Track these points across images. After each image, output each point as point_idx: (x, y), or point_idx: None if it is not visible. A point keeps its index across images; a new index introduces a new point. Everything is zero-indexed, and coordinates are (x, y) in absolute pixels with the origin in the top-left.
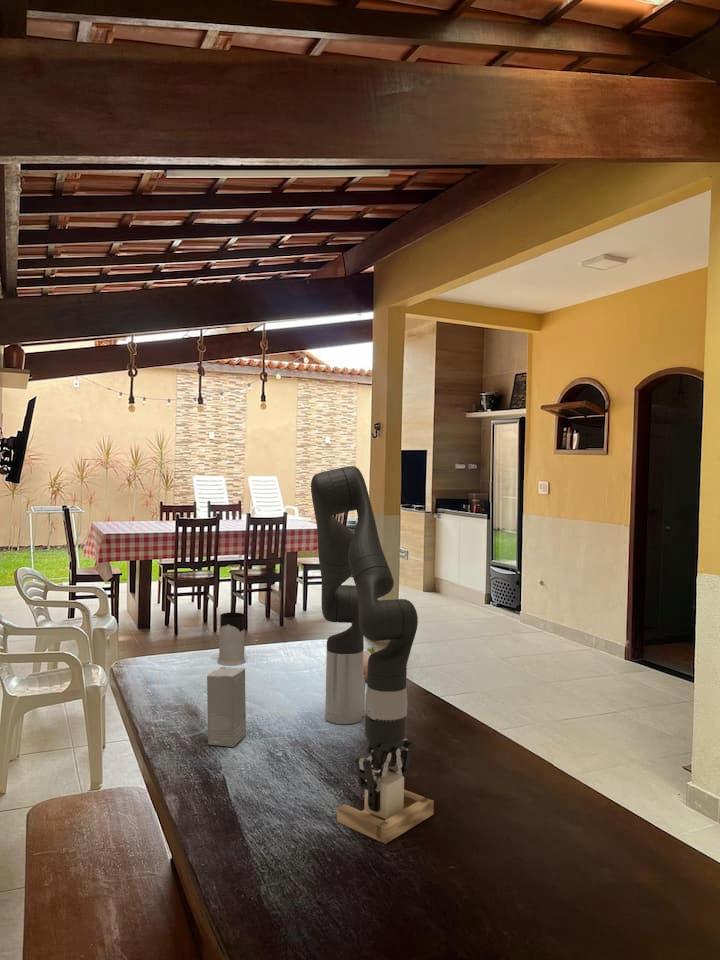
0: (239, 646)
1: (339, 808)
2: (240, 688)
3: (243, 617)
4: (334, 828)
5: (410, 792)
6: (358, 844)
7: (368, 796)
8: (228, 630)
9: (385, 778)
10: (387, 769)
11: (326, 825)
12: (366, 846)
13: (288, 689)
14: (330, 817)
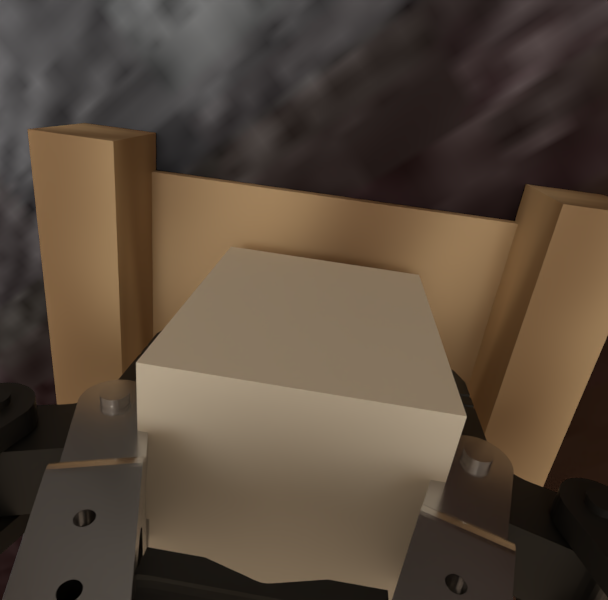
0: None
1: (33, 150)
2: None
3: None
4: (22, 157)
5: (556, 435)
6: (10, 347)
7: (131, 368)
8: None
9: (253, 528)
10: (424, 502)
11: (9, 91)
12: (27, 383)
13: None
14: (98, 43)
